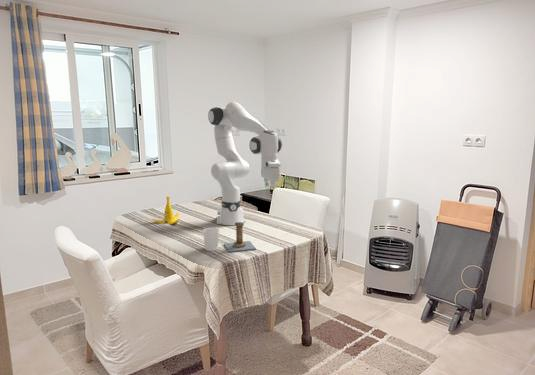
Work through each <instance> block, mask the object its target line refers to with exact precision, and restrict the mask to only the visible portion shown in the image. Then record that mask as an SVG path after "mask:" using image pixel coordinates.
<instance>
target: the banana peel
mask: <svg viewBox="0 0 535 375" xmlns="http://www.w3.org/2000/svg"><path fill="white" fill-rule="evenodd" d="M170 199H171V198H170V196H168V195H167V196H166V205H165V208H164V214H163V216H164V218H163V219H162V220H161V219H156V218H154V217H151V220H153V221H154V222H156V223H158V224H165V223H167V225H174V224H178V222H179V220H178V218H179V214H180V213H179V212H177V213H176V214H175V215H174V212H173V208H172V205H171V203H170Z"/></svg>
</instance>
